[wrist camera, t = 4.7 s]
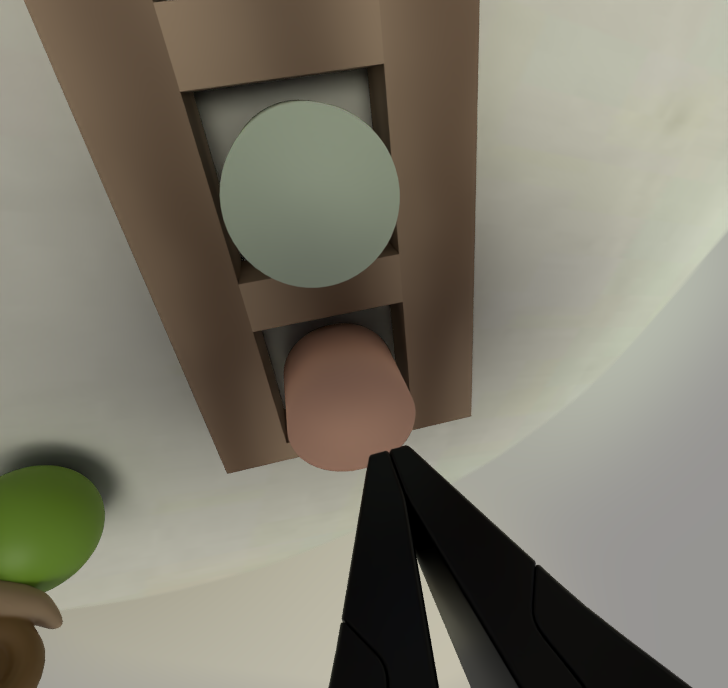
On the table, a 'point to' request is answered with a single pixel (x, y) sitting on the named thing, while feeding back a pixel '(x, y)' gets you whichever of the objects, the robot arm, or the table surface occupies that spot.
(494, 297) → the table surface
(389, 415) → the terracotta button
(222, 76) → the wooden compartment tray
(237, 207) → the sage button
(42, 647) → the snail figurine
